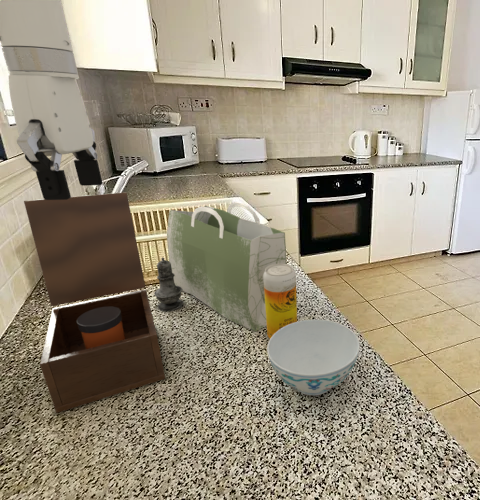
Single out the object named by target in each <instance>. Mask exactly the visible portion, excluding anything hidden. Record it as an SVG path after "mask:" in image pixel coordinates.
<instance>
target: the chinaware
mask: <svg viewBox="0 0 480 500" xmlns="http://www.w3.org/2000/svg"><path fill="white" fill-rule="evenodd" d="M360 348H361V343H360V340H359V337H358V336H357V334H356V333H355V332H354V331H353V330H352V329H351V328H349V327H348V326H346V325H344V324H342V323H340V322H337V321H333V320H328V319H318V318H315V319H303V320H297V322H295V323H292V324H289V325H287V326H285V327H283V328H281V329H280V330H278V331H277V332H276V333H275V334H274V335H273V336H272V337H271V339H270V338H269V340H268V342H267V347H266V351H267V356H268V359H269V362H270V365H271V367H272V369H273V370H274V373H275V374H276V375H277V376H278V378H280V380H281V381H282V382H283V383H284V384H285V385H287V386H288V387H290V388H292V389H293V390H296V391H298V392H300V393H301V394H303V395H306V396H307V395H308V396H320V395H324V394H326V393H327V392H329V391H331V389H333V388H335V387H337V386H338V385H339V384H341V383H342V382H343V381H344V380H346V378H347V377H348V376H349V375H350V373H352V371H353V368H354V367H355V365H356V363H357V360H358V357H359V354H360Z"/></svg>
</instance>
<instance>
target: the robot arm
mask: <svg viewBox="0 0 480 500" xmlns="http://www.w3.org/2000/svg"><path fill="white" fill-rule="evenodd" d="M0 47H1V51H2V55H3V57H4V61H5V64H6V67H7V72H8V89H9V97H10V102H11V107H12V112H13V117H14V121H15V125H16V130H17V133H18V136H17V138H16V144H17V146H18V147H19V148H20V150H21V152H22V153H23V154H24V159H25V160H26V161H27V162H28V163H29V164H30V167H31V170H32V171H33V172H35V174H36V177H37V181H38V184H39V188H40V191H41V194H42V199H45V200H67V199H69V198H71V197H72V196H71V192H70V188H69V184H68V181H67V177H66V172H65V170H64V169H60V168H61V162H62V156H63V155H67V154H72V155H73V156H74V158H75V159H74V160H73V163H74V168H75V172H76V175H77V179H78V183H79V185H80V186H82V187H83V186H101V185H103V179H102V175H101V170H100V166H99V165H100V164H99V162H98V157H99V156H98V153H97V151H96V150H97V143H96V133H95V130H94V129H93V128H92V126H91V123H90V122H91V121H90V119H89V114H88V112H87V108H86V104H85V102H84V98H83V96H82V92H81V89H80V87H79V84H78V81H77V80H80V75H79V71H78V66H77V63H76V58H75V55H74V50H73V45H72V42H71V37H70V33H69V27H68V24H67V20H66V15H65V11H64V7H63V3H62V0H0ZM49 157H50V158H49Z"/></svg>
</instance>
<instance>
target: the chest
mask: <svg viewBox="0 0 480 500" xmlns="http://www.w3.org/2000/svg"><path fill="white" fill-rule="evenodd" d="M109 306H110V307H117V308H119V309H120V311H121V315H122V324H123V328H124V333H125V337H126V339H124V340H120V341H116V342H112V343H108V344H104V345H101V346H97V347H93V348H89V349H85V345H84V342H83V338H82V334H81V331H80V330H79V328H78V325H77V319H78V317H79V316H81V315H82V314H83V313H85V312H87V311H90V310H92V309H96V308H100V307H109ZM49 317H50V318H49V322H48V326H47V331H46V335H45V338H44V339H45V340H44V344H43V349H42V353H41V358H40V362H39V366H40V369H41V372H42V375H43V378H44V381H45V383H46V387H47V390H48V393H49V396H50V399H51V401H52V404H53V407H54V411H55V414H58V413H62V412H66V411H68V410H71V409H75V408H77V407H80V406H84V405H87V404H91V403H93V402H97V401H100V400H103V399H106V398H109V397H112V396H116V395H118V394H122V393H125V392H128V391H132V390H134V389H137V388H141V387H143V386H148V385H150V384H154V383H156V382H159V381H163V380H166V375H165V368H164V363H163V360H162V359H163V358H162V353H161V348H160V343H159V338H158V334H157V329H156V325H155V321H154V316H153V313H152V308H151V304H150V301H149V296H148V292H147V289H146V288H144V289H140V290H134V291H129V292H124V293H121V294H120V293H119V294H116V295H115V294H114V295H111V296H110V295H109V296H104V297H99V298H94V299H90V300H86V301H81V302H76V303H70V304H67V305H60V306H56V307H52V309H51V313H50V316H49Z"/></svg>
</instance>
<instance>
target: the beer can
mask: <svg viewBox="0 0 480 500" xmlns="http://www.w3.org/2000/svg"><path fill="white" fill-rule="evenodd" d="M263 279H264V293H265V308H266V323H267V325H266V335H267V337H268V338H269V340H270V339H271V337H272V336H273V335H274V334H275V333H276V332H277V331H278V330H280V329H281V328H283V327H285V326H287V325H289V324H292V323H295V322H298V301H297V300H298V299H297V296H298V295H297V272H296V270H295V269H294V267H293V266H292V265H291V264H288V263H286V264H273V265H270V266H268V267H267V268H266V269H265V272H264V275H263Z"/></svg>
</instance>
